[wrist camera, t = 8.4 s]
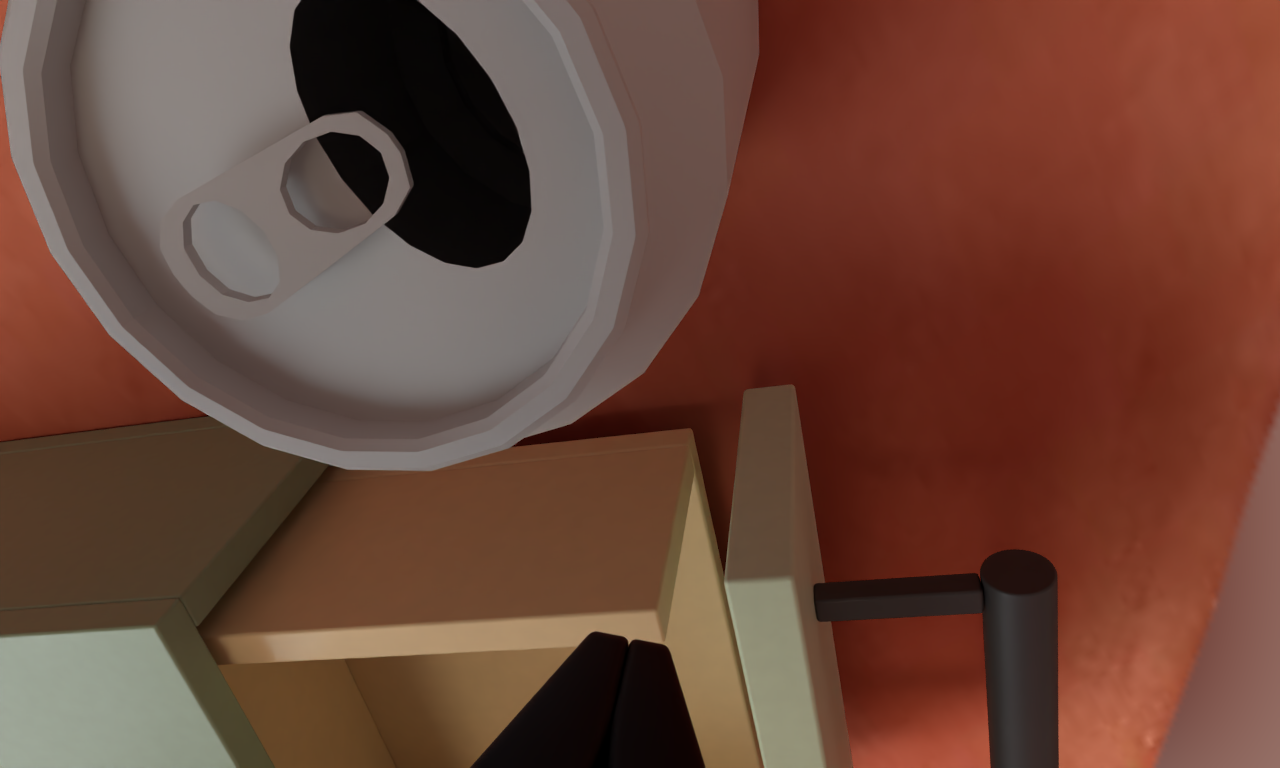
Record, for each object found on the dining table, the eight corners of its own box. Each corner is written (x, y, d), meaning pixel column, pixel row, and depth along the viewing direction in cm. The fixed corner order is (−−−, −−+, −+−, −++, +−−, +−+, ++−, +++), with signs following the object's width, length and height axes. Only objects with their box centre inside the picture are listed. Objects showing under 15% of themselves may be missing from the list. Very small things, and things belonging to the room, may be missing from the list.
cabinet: (354, 396, 24) (154, 626, 16) (506, 772, 30) (411, 1060, 23) (-103, 454, 27) (-438, 664, 20) (119, 779, 34) (-71, 1029, 26)
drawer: (1011, 357, 20) (1105, 557, 14) (1024, 775, 26) (1093, 1040, 20) (248, 445, 24) (70, 625, 18) (410, 784, 30) (315, 1003, 24)
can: (828, 96, 18) (869, 360, 8) (536, 261, 21) (286, 617, 11) (636, -281, 16) (337, -604, 6) (333, -38, 19) (-248, 49, 8)
